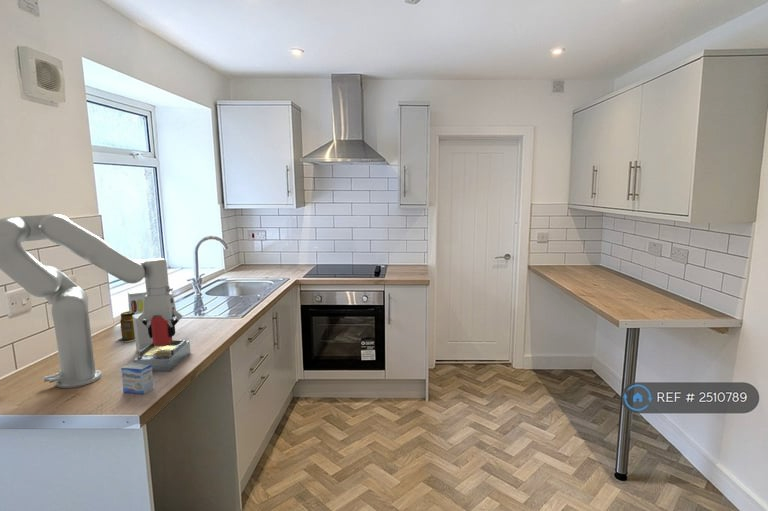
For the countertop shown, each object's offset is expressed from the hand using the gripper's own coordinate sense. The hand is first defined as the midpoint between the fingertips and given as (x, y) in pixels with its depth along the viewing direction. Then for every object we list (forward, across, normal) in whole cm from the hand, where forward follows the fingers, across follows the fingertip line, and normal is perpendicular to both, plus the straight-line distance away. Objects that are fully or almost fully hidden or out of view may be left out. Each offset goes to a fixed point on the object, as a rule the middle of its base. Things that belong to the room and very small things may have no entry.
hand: (162, 336), depth 154 cm
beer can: (+3, 0, 0) cm, 3 cm away
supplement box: (+11, +34, -50) cm, 61 cm away
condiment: (+11, +28, -27) cm, 41 cm away
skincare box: (+11, +12, -13) cm, 21 cm away
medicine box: (+11, -2, +23) cm, 25 cm away
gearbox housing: (+10, 0, 0) cm, 10 cm away
